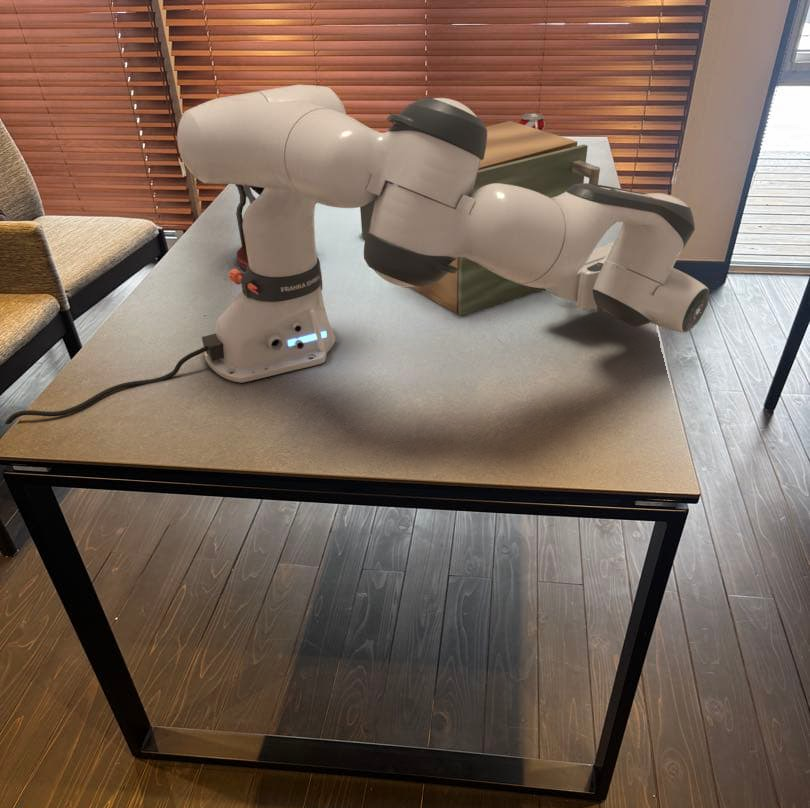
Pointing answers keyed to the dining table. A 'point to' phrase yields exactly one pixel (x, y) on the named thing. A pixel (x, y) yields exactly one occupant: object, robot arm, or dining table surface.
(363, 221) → the bottle
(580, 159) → the door
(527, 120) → the soda can
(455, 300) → the cupboard
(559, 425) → the dining table surface
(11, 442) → the dining table surface
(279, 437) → the dining table surface
